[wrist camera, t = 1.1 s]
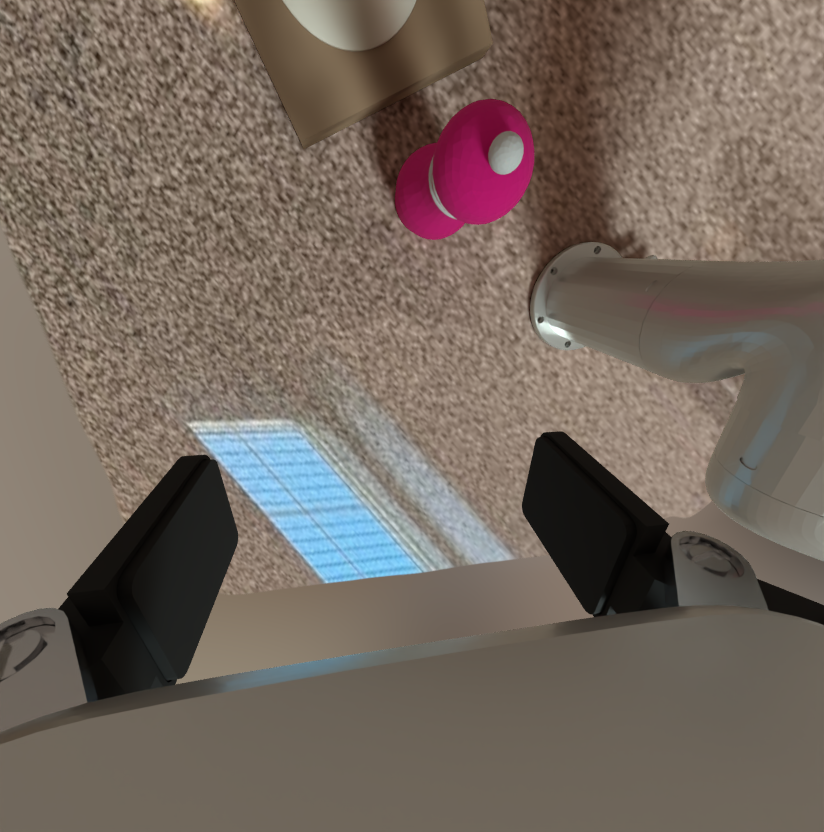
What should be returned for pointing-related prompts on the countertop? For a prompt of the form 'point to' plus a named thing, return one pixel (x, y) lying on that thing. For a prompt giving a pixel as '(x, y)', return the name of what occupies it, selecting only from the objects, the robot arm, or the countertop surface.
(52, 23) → the countertop surface
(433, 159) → the pepper mill
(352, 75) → the walnut stand
